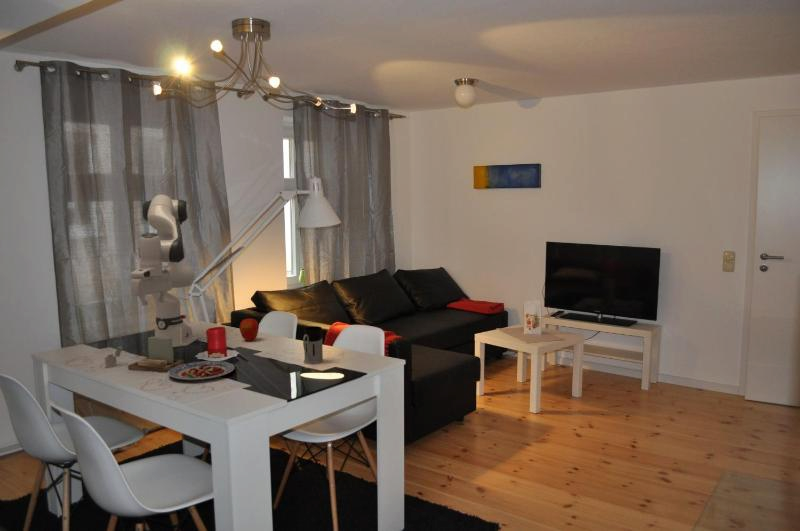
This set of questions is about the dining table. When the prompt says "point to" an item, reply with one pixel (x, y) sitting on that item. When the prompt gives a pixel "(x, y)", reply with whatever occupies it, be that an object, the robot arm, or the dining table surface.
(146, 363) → the offcut stack
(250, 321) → the apple
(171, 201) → the robot arm
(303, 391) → the dining table surface
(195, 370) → the ceramic plate
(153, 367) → the walnut rack
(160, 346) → the grey-green rectangular block
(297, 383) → the dining table surface
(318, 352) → the glass holder
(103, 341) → the dining table surface
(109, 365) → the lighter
